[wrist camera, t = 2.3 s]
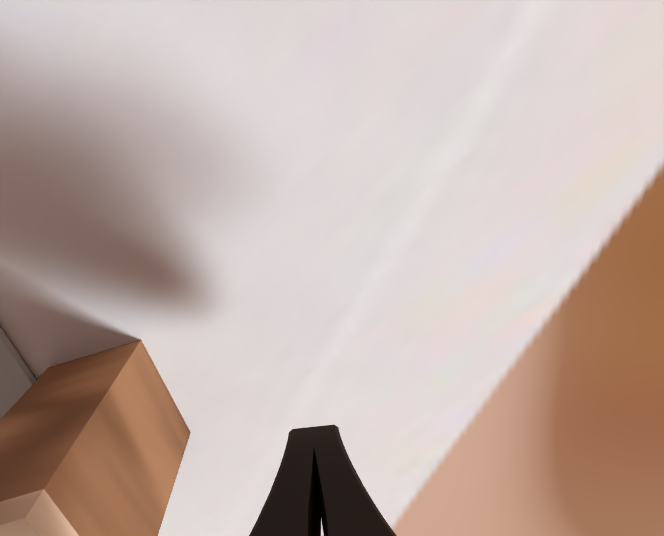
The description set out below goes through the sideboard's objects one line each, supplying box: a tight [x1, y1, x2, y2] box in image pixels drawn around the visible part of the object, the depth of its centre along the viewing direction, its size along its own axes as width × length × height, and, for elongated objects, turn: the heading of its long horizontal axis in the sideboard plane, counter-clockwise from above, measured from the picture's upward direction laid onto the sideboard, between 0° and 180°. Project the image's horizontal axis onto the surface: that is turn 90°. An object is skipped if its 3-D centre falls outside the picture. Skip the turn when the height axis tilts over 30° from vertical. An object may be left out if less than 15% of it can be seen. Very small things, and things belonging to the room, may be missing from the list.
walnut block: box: [0, 340, 190, 536], centre depth 15 cm, size 4×5×8 cm
